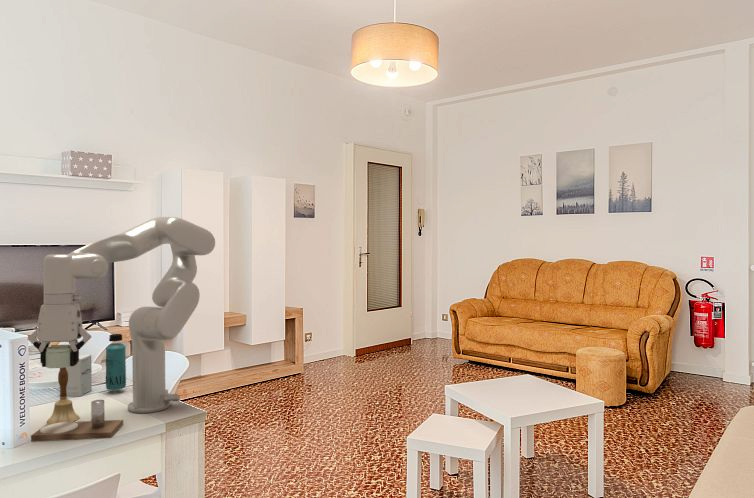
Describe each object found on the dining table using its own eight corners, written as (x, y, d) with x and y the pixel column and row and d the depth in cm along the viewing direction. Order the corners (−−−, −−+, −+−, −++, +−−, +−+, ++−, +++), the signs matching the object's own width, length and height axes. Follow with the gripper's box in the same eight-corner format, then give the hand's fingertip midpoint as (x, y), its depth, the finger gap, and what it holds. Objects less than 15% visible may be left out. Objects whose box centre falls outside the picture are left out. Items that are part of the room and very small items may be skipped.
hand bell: (86, 416, 166) (85, 363, 166) (64, 426, 158) (63, 370, 158) (62, 414, 168) (62, 362, 168) (40, 423, 160) (39, 368, 160)
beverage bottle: (113, 388, 196) (112, 332, 195) (130, 389, 195) (129, 332, 194) (101, 394, 189) (100, 335, 189) (119, 395, 188) (118, 336, 188)
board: (123, 424, 159) (123, 419, 159) (111, 437, 149) (110, 431, 149) (48, 428, 157) (48, 422, 156) (31, 441, 147) (30, 434, 147)
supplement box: (81, 396, 187) (80, 359, 186) (59, 396, 187) (58, 358, 186) (92, 390, 194) (92, 354, 194) (71, 390, 194) (70, 354, 194)
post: (106, 424, 155) (105, 399, 155) (102, 428, 152) (101, 402, 152) (94, 424, 155) (93, 399, 155) (89, 428, 152) (89, 403, 151)
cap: (77, 362, 155) (77, 342, 155) (68, 367, 149) (68, 347, 149) (52, 363, 154) (52, 343, 154) (42, 368, 148) (42, 347, 148)
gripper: (98, 298, 156) (98, 361, 156) (31, 298, 154) (31, 363, 154) (88, 301, 149) (88, 367, 149) (18, 301, 146) (18, 369, 146)
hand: (59, 364), depth 151 cm, fingers closed on cap, 6 cm apart
